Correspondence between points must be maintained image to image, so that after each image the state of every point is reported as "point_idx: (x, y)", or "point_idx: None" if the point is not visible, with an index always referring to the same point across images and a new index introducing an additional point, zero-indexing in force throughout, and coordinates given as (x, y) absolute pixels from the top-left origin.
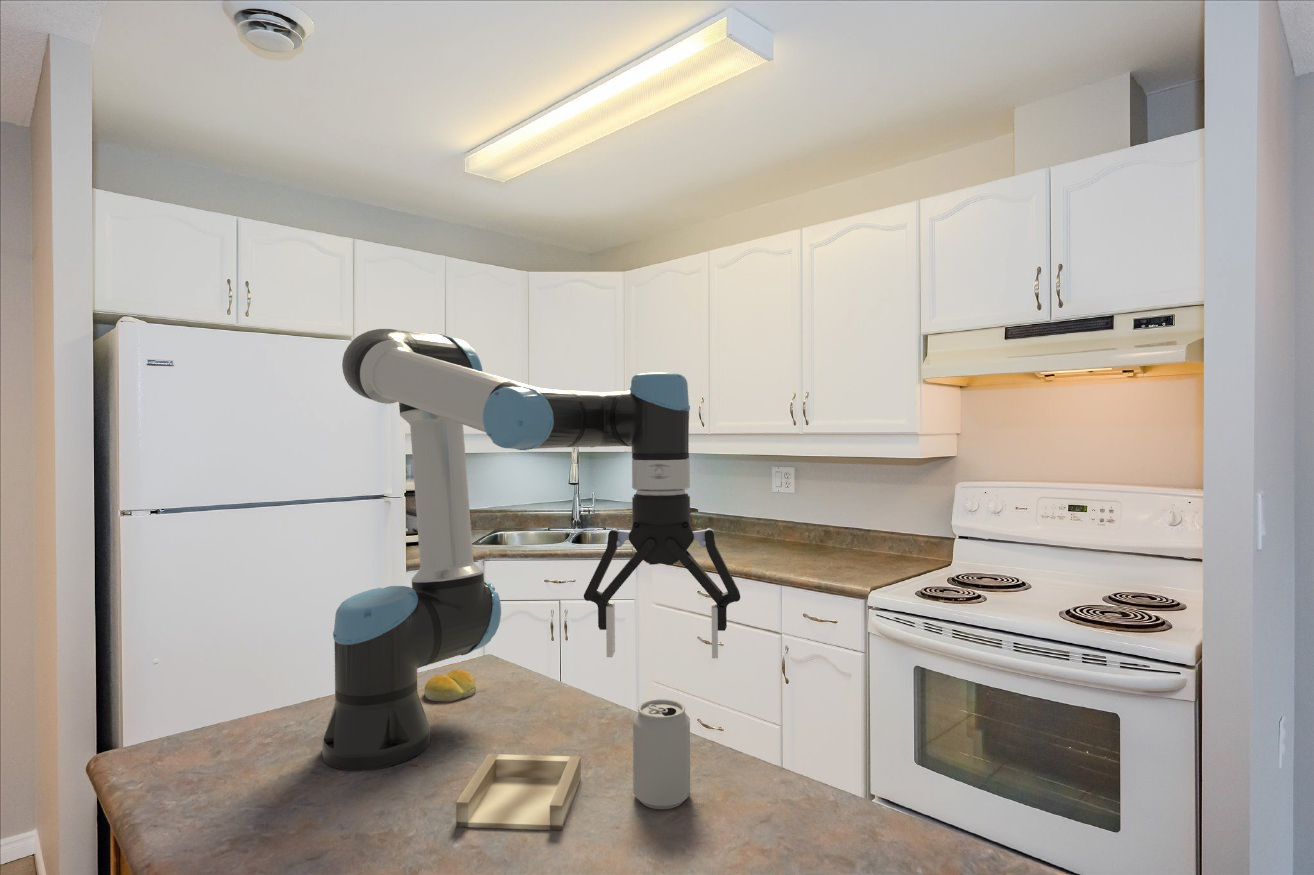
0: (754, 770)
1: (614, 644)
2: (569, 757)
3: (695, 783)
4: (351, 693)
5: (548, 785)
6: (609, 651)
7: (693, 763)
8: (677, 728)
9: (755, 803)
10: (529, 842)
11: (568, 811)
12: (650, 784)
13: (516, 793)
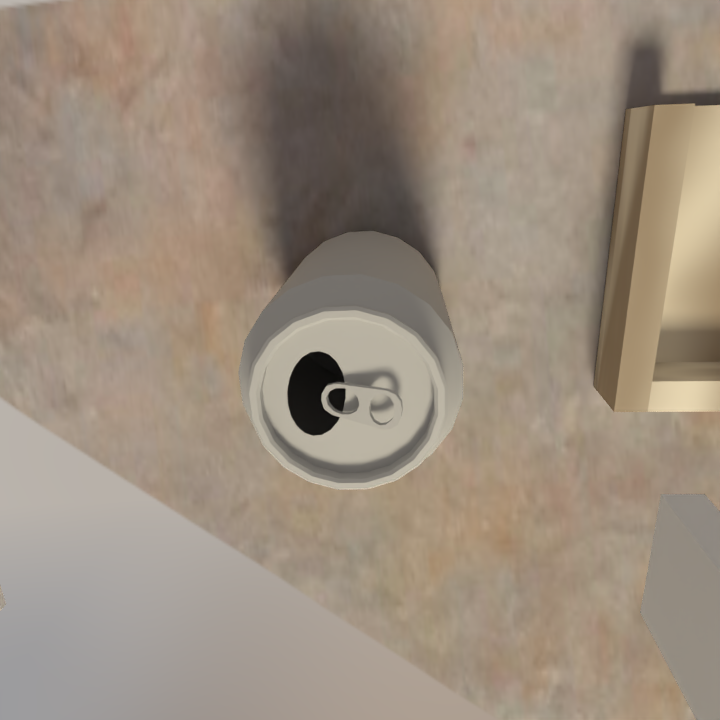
0: (146, 450)
1: (666, 633)
2: (648, 404)
3: None
4: None
5: (686, 322)
6: (703, 517)
7: None
8: (277, 302)
9: (126, 294)
10: (716, 35)
11: (615, 206)
12: (388, 244)
13: None
